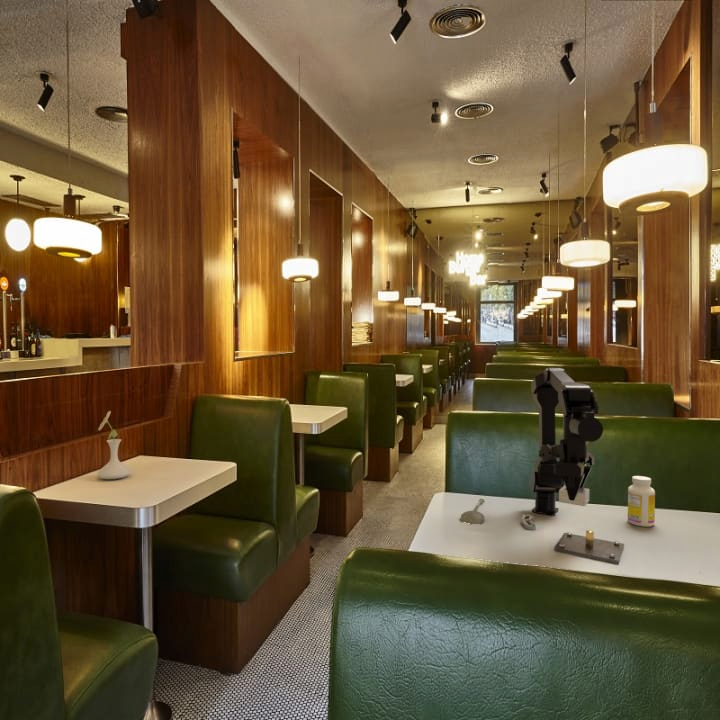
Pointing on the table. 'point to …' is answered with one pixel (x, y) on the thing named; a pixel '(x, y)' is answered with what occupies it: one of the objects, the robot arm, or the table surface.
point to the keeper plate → (590, 547)
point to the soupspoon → (473, 515)
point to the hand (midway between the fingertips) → (574, 497)
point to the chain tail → (528, 522)
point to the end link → (580, 498)
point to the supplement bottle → (641, 502)
